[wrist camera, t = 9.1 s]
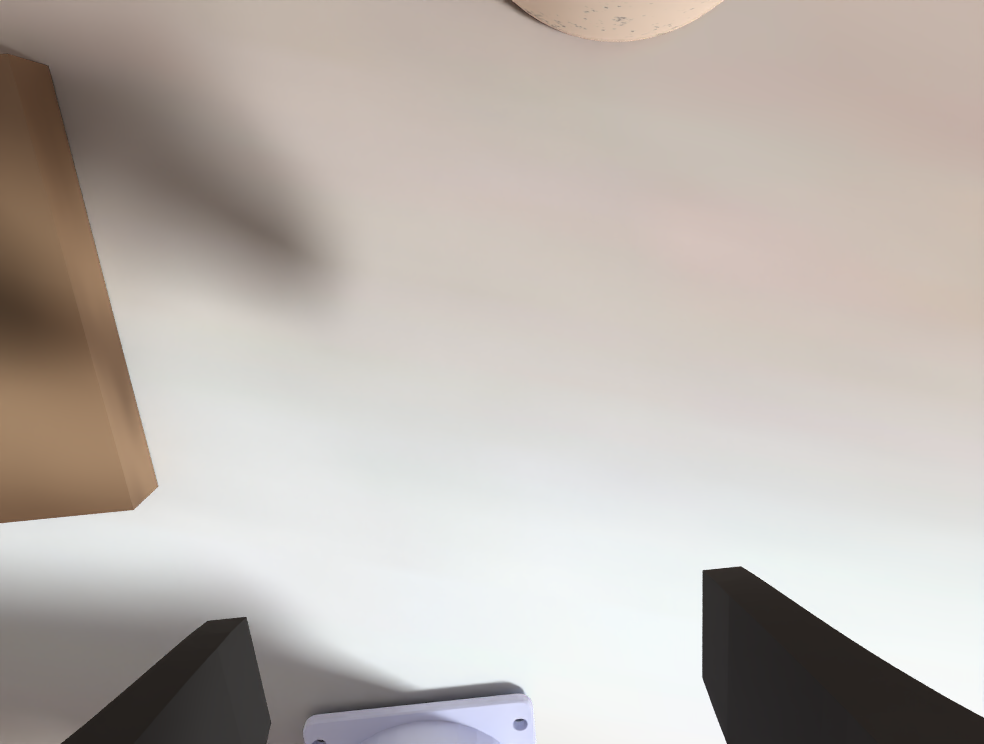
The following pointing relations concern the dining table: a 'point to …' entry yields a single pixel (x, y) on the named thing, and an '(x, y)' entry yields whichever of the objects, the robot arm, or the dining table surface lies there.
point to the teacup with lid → (616, 16)
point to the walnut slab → (57, 328)
